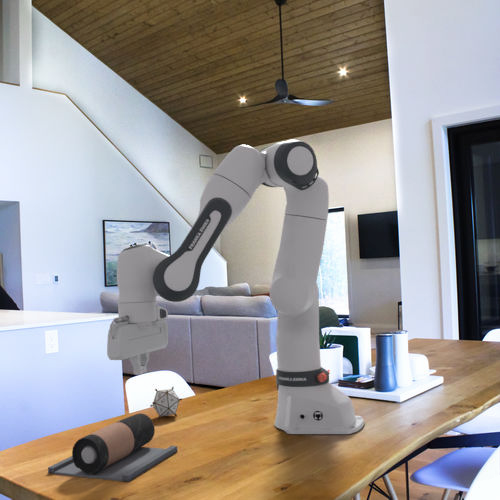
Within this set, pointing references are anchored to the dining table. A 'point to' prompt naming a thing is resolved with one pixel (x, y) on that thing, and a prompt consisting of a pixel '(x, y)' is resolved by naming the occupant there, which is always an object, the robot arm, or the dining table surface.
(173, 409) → the game die
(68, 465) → the tray
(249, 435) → the dining table surface
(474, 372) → the dining table surface
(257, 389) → the dining table surface
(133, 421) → the travel mug
